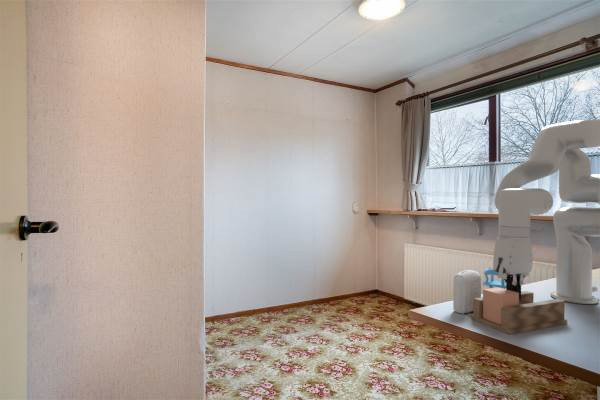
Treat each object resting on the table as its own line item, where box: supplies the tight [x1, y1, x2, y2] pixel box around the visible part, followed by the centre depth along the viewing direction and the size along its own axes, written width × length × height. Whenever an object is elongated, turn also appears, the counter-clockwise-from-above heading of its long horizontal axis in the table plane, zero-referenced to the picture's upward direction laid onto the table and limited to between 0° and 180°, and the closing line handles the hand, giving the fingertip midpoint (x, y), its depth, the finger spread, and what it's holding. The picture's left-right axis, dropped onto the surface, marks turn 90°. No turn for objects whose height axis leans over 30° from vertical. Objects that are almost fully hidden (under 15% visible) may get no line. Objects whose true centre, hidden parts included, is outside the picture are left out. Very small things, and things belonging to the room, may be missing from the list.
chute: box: [470, 290, 568, 335], centre depth 94 cm, size 22×12×6 cm, turn 111°
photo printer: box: [452, 269, 482, 314], centre depth 103 cm, size 10×4×12 cm, turn 123°
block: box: [482, 287, 519, 325], centre depth 92 cm, size 6×6×8 cm
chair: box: [482, 267, 506, 289], centre depth 109 cm, size 8×8×12 cm
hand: (513, 298), depth 93 cm, fingers closed
